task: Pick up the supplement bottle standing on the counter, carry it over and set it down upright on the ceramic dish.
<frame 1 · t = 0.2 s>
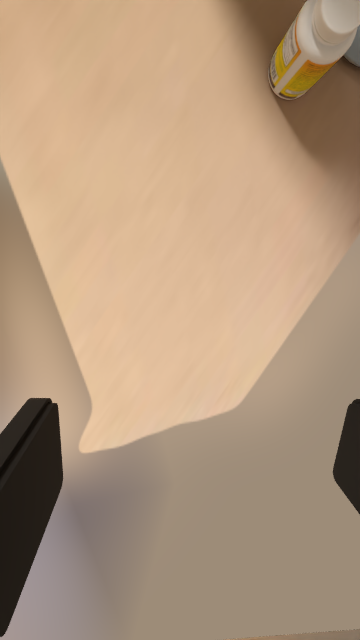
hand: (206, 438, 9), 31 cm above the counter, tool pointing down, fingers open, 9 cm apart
supplement bottle: (288, 74, 33), on the counter
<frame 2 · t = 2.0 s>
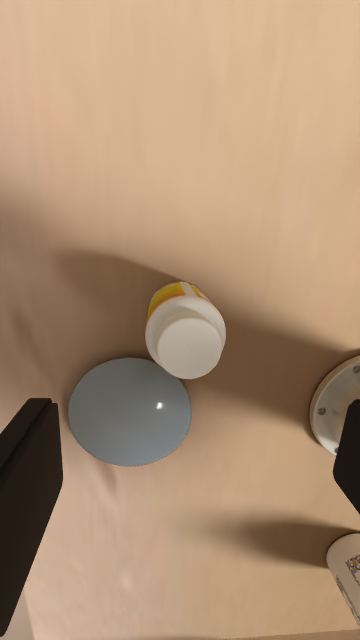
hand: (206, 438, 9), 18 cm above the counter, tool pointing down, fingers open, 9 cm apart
bath foam: (349, 549, 37), on the counter
supplement bottle: (178, 309, 27), on the counter
dish: (131, 408, 29), on the counter
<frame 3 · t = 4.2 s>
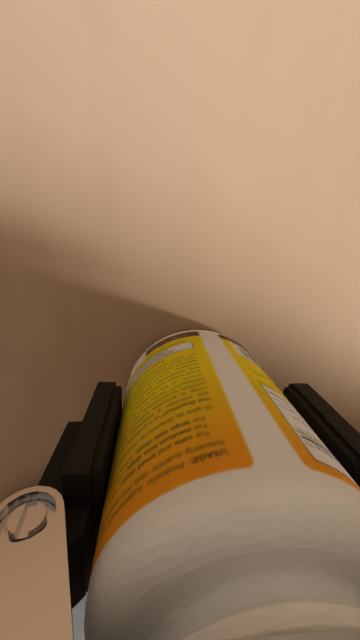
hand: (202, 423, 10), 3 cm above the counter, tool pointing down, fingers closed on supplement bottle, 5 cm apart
supplement bottle: (192, 384, 12), on the counter, touching gripper
dish: (97, 570, 15), on the counter
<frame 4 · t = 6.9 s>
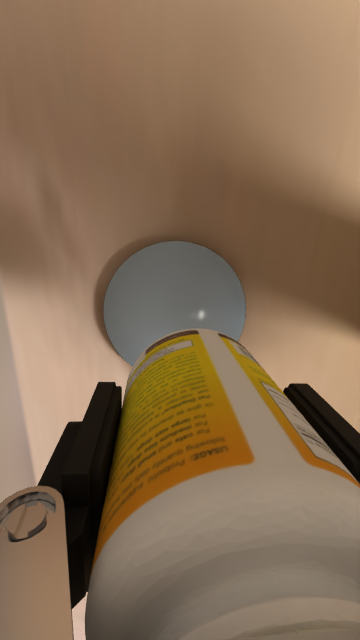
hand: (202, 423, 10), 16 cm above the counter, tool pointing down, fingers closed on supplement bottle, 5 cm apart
supplement bottle: (192, 383, 12), point 13 cm above the counter, touching gripper
dish: (175, 311, 25), on the counter
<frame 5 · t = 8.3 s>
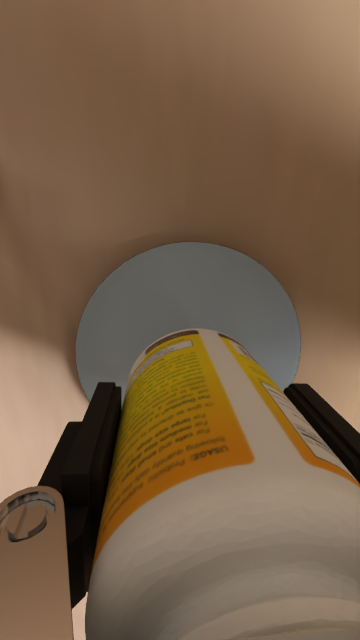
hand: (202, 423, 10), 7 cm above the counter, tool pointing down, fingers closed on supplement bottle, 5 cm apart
supplement bottle: (192, 383, 12), point 4 cm above the counter, touching gripper
dish: (188, 350, 16), on the counter
when the fingers open (5 cm above the counter, at t = 9.6 s): supplement bottle drops 1 cm, resting on dish.
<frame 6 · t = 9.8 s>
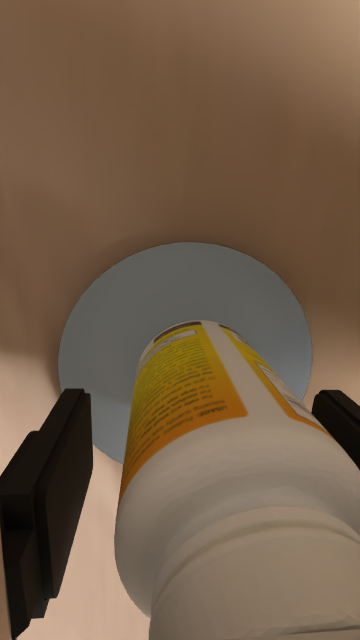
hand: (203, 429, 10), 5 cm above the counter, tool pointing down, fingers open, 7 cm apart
supplement bottle: (195, 370, 14), point 1 cm above the counter, touching dish
dish: (186, 363, 15), on the counter
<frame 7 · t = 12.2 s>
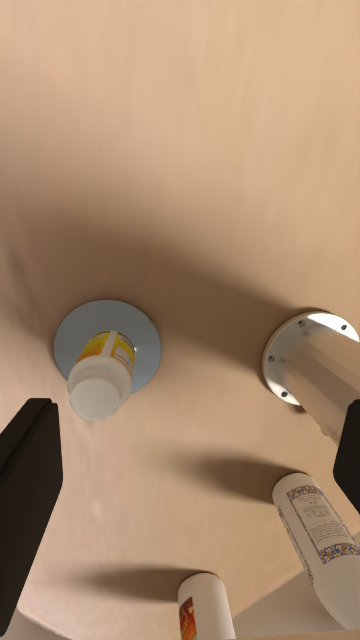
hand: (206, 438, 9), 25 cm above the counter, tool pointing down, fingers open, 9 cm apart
milk bottle: (200, 586, 47), on the counter
bath foam: (292, 488, 43), on the counter
supplement bottle: (111, 351, 33), point 1 cm above the counter, touching dish
dish: (109, 347, 34), on the counter
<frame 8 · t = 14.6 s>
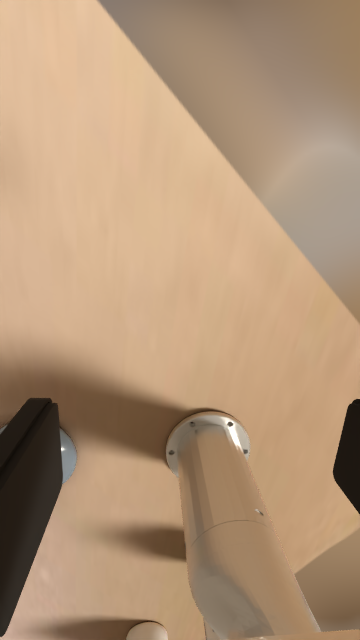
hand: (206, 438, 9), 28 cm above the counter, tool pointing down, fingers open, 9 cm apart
milk bottle: (147, 632, 54), on the counter
dish: (35, 452, 41), on the counter
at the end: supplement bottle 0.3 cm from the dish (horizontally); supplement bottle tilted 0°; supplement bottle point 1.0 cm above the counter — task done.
